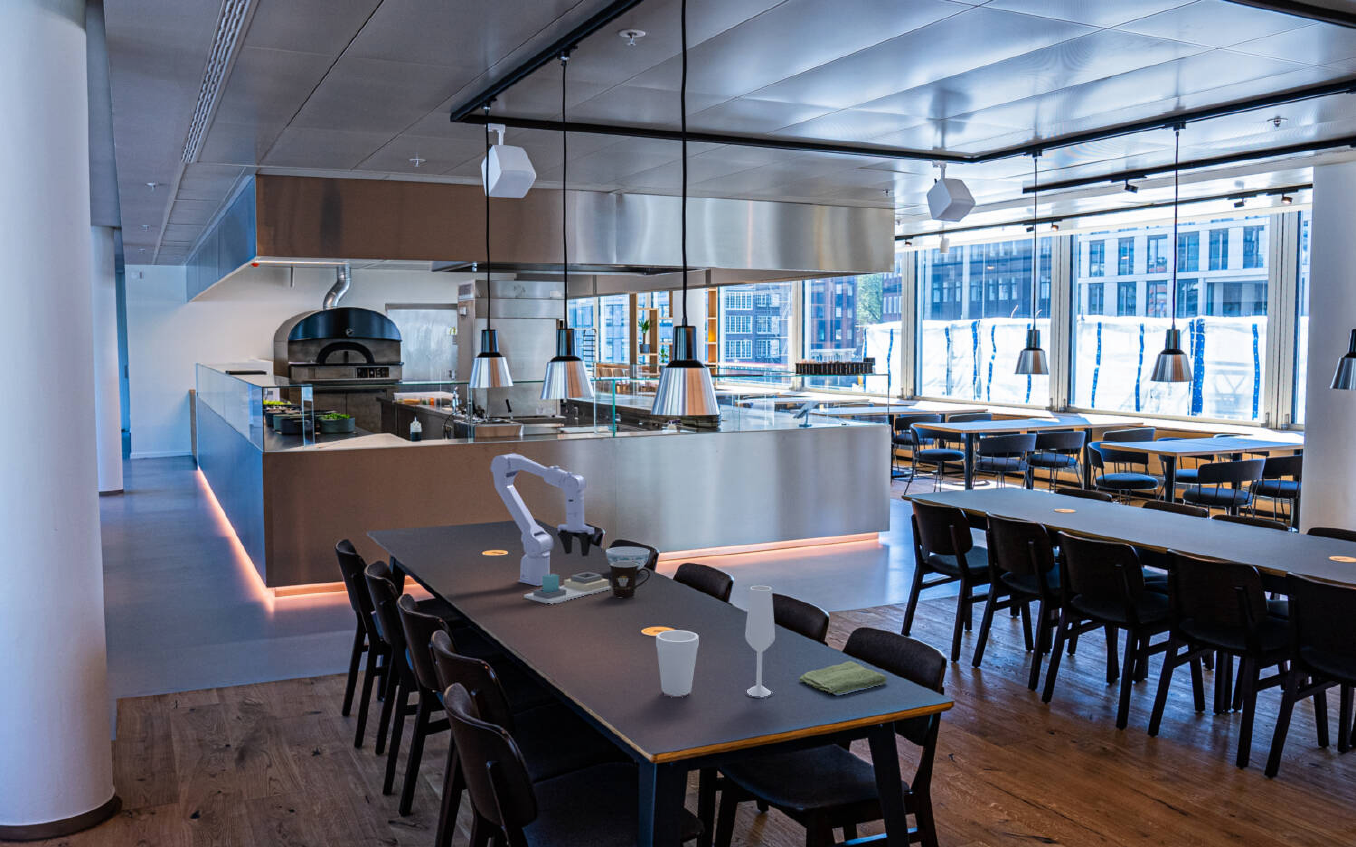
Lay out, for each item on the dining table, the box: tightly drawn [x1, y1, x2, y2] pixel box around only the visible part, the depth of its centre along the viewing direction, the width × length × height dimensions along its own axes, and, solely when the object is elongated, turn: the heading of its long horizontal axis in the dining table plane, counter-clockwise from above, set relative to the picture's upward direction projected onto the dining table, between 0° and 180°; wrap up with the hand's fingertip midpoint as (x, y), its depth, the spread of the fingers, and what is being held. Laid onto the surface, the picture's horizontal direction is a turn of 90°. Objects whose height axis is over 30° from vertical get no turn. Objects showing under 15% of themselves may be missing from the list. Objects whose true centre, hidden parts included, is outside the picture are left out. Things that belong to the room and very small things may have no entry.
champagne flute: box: [744, 585, 776, 697], centre depth 228 cm, size 7×7×24 cm
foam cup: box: [655, 629, 700, 696], centre depth 228 cm, size 10×9×13 cm
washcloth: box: [798, 660, 888, 694], centre depth 237 cm, size 13×18×3 cm
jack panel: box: [524, 571, 612, 605], centre depth 319 cm, size 12×26×4 cm, turn 141°
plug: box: [542, 573, 560, 593], centre depth 313 cm, size 3×4×6 cm
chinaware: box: [605, 546, 651, 570], centre depth 350 cm, size 15×15×8 cm
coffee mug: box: [609, 561, 651, 599], centre depth 317 cm, size 12×9×10 cm
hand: (576, 554), depth 328 cm, fingers open, 7 cm apart
